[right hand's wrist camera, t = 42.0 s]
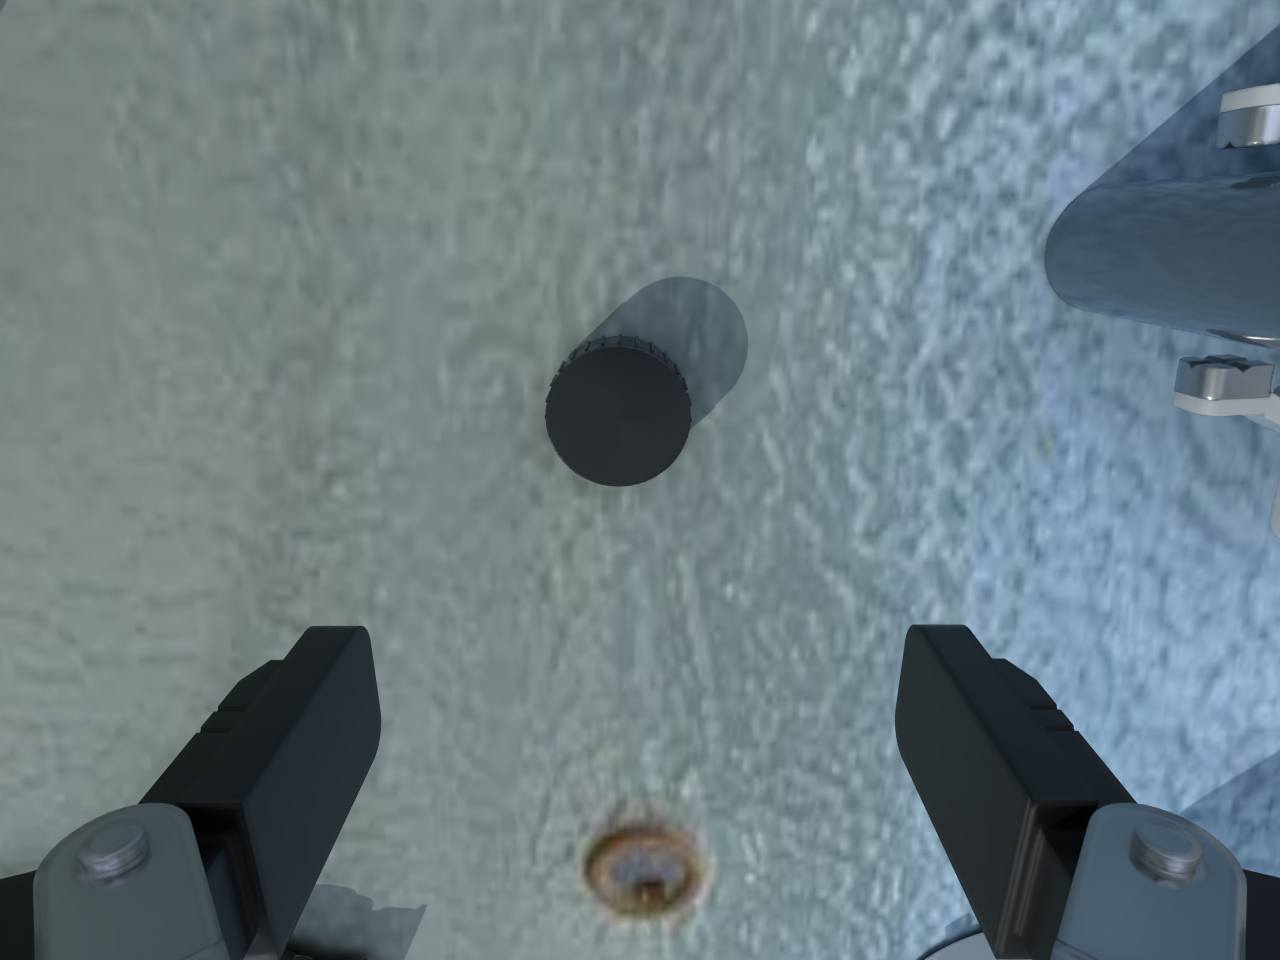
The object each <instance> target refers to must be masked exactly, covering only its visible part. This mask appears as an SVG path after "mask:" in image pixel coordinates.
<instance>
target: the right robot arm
mask: <svg viewBox="0 0 1280 960" xmlns="http://www.w3.org/2000/svg"><path fill="white" fill-rule="evenodd" d="M895 730H896V738H897V743H898V747H899V751H900V754H901V757H902V759H903V761H904V763H905V765H906V768H907V770H908V772H909V774H910V776H911V778H912V780H913V783H914V785H915V787H916V789H917V791H918V793H919V795H920V798H921V800H922V802H923V804H924V806H925V808H926V811H927V813H928V815H929V817H930V819H931V821H932V823H933V826H934V828H935V830H936V832H937V834H938V836H939V838H940V841H941V843H942V845H943V847H944V849H945V851H946V854H947V856H948V858H949V860H950V862H951V864H952V866H953V869H954V871H955V873H956V875H957V877H958V879H959V881H960V884H961V886H962V888H963V890H964V892H965V894H966V897H967V899H968V901H969V903H970V905H971V907H972V909H973V912H974V914H975V916H976V918H977V920H978V922H979V924H980V927H981V929H982V931H983V933H984V935H985V937H986V940H987V942H988V944H989V946H990V948H991V950H992V952H993V955H994V957H995V959H1032V960H1280V878H1278V877H1274V876H1270V875H1265V874H1261V873H1257V872H1253V871H1248V870H1245V869H1242V867H1241V866H1240V864H1239V863H1238V861H1237V859H1236V858H1235V857H1234V856H1233V855H1232V853H1231V852H1230V851H1229V850H1228V849H1227V848H1226V847H1225V846H1224V845H1223V844H1222V843H1221V842H1220V841H1219V840H1217V839H1216V838H1215V837H1213V836H1212V835H1211V834H1209V833H1208V832H1207V831H1205V830H1204V829H1202V828H1200V827H1199V826H1197V825H1196V824H1194V823H1192V822H1190V821H1188V820H1186V819H1184V818H1182V817H1180V816H1178V815H1175V814H1173V813H1171V812H1168V811H1165V810H1162V809H1159V808H1156V807H1152V806H1148V805H1143V804H1137V802H1136V801H1135V800H1134V799H1133V798H1132V796H1131V795H1130V794H1129V793H1128V791H1127V790H1126V789H1125V788H1124V787H1123V785H1122V784H1121V783H1120V782H1119V780H1118V779H1117V778H1116V777H1115V776H1114V774H1113V773H1112V772H1111V771H1110V769H1109V768H1108V767H1107V766H1106V765H1105V763H1104V762H1103V761H1102V760H1101V758H1100V757H1099V756H1098V755H1097V754H1096V752H1095V751H1094V750H1093V749H1092V747H1091V746H1090V745H1089V744H1088V742H1087V741H1086V740H1085V739H1084V738H1083V736H1082V735H1081V734H1080V733H1079V731H1074V725H1073V724H1072V723H1071V722H1070V720H1069V719H1068V718H1067V717H1066V716H1065V714H1064V713H1063V712H1062V711H1061V710H1057V705H1056V703H1055V702H1054V701H1053V700H1052V698H1051V697H1050V696H1049V695H1048V694H1047V692H1046V691H1045V690H1044V689H1043V687H1042V686H1041V685H1040V684H1039V682H1038V681H1037V680H1036V679H1034V678H1033V677H1031V676H1030V675H1028V674H1027V673H1025V672H1024V671H1022V670H1021V669H1019V668H1018V667H1016V666H1015V665H1013V664H1012V663H1010V662H1009V661H1007V660H1006V659H992V658H991V657H990V655H989V654H988V653H987V651H986V650H985V649H984V647H983V646H982V645H981V643H980V642H979V641H978V640H977V638H976V637H975V636H974V634H973V633H972V632H971V630H970V629H969V628H968V627H967V626H965V625H912V626H910V628H909V629H908V632H907V635H906V639H905V646H904V653H903V660H902V668H901V675H900V682H899V689H898V696H897V703H896V711H895ZM380 733H381V712H380V704H379V697H378V690H377V683H376V676H375V669H374V662H373V655H372V648H371V641H370V637H369V633H368V631H367V629H366V628H365V627H364V626H311V627H309V628H308V629H307V630H306V631H305V632H304V634H303V635H302V636H301V638H300V639H299V640H298V641H297V643H296V644H295V645H294V647H293V648H292V649H291V651H290V652H289V653H288V654H287V656H286V657H285V658H284V660H270V661H269V662H267V663H266V664H264V665H263V666H261V667H260V668H258V669H257V670H255V671H254V672H252V673H251V674H249V675H248V676H246V677H245V678H243V679H242V680H240V681H239V682H238V683H237V684H236V685H235V687H234V688H233V689H232V690H231V691H230V693H229V694H228V695H227V696H226V698H225V699H224V700H223V701H222V702H221V704H220V705H219V706H218V711H217V712H213V713H212V715H211V716H210V717H209V718H208V719H207V721H206V722H205V723H204V724H203V725H202V727H201V731H200V733H196V734H195V735H194V736H193V738H192V739H191V740H190V741H189V742H188V744H187V745H186V746H185V747H184V748H183V750H182V751H181V752H180V753H179V755H178V756H177V757H176V758H175V759H174V761H173V762H172V763H171V764H170V765H169V767H168V768H167V769H166V770H165V772H164V773H163V774H162V775H161V776H160V778H159V779H158V780H157V781H156V782H155V784H154V785H153V786H152V787H151V789H150V790H149V791H148V792H147V793H146V795H145V796H144V797H143V798H142V799H141V801H140V802H139V803H138V804H137V805H132V806H128V807H124V808H121V809H118V810H115V811H112V812H109V813H107V814H105V815H102V816H100V817H98V818H96V819H94V820H92V821H90V822H88V823H86V824H84V825H83V826H81V827H80V828H78V829H76V830H75V831H73V832H72V833H71V834H69V835H68V836H67V837H65V838H64V839H63V840H61V841H60V842H59V843H58V844H57V845H56V846H55V847H54V848H53V849H52V850H51V851H50V852H49V853H48V855H47V856H46V857H45V858H44V859H43V861H42V863H41V864H40V866H39V867H38V869H37V870H35V871H32V872H28V873H24V874H20V875H16V876H12V877H7V878H3V879H0V960H280V958H281V956H282V954H283V952H284V950H285V947H286V945H287V943H288V941H289V939H290V937H291V935H292V933H293V930H294V928H295V926H296V924H297V922H298V920H299V918H300V916H301V913H302V911H303V909H304V907H305V905H306V903H307V901H308V899H309V896H310V894H311V892H312V890H313V888H314V886H315V884H316V882H317V880H318V877H319V875H320V873H321V871H322V869H323V867H324V865H325V863H326V860H327V858H328V856H329V854H330V852H331V850H332V848H333V846H334V843H335V841H336V839H337V837H338V835H339V833H340V831H341V829H342V826H343V824H344V822H345V820H346V818H347V816H348V814H349V812H350V809H351V807H352V805H353V803H354V801H355V799H356V797H357V795H358V792H359V790H360V788H361V786H362V784H363V782H364V780H365V778H366V775H367V773H368V771H369V769H370V767H371V765H372V763H373V761H374V758H375V756H376V753H377V749H378V745H379V740H380Z"/></svg>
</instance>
